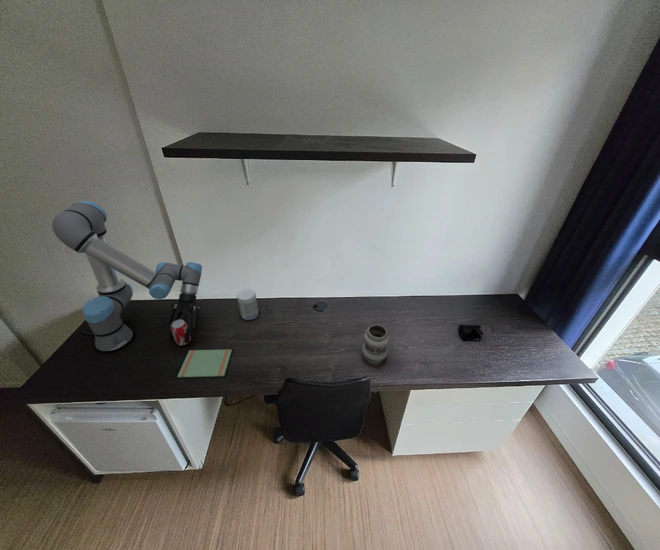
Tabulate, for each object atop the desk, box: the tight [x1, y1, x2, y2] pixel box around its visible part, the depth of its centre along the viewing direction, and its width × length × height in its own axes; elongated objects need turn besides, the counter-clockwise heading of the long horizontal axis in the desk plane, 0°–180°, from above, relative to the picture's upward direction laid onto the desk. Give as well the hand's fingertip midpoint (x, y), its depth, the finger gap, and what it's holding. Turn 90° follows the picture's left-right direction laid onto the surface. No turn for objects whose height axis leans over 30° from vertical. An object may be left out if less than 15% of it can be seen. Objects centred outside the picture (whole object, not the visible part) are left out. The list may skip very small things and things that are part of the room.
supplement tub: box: [236, 288, 259, 321], centre depth 157 cm, size 10×10×15 cm
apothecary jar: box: [361, 324, 391, 367], centre depth 134 cm, size 12×12×18 cm
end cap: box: [457, 323, 484, 342], centre depth 151 cm, size 10×7×7 cm
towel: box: [176, 348, 233, 379], centre depth 133 cm, size 20×15×1 cm
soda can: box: [171, 318, 192, 347], centre depth 139 cm, size 7×7×12 cm
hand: (178, 341), depth 138 cm, fingers closed on soda can, 7 cm apart
